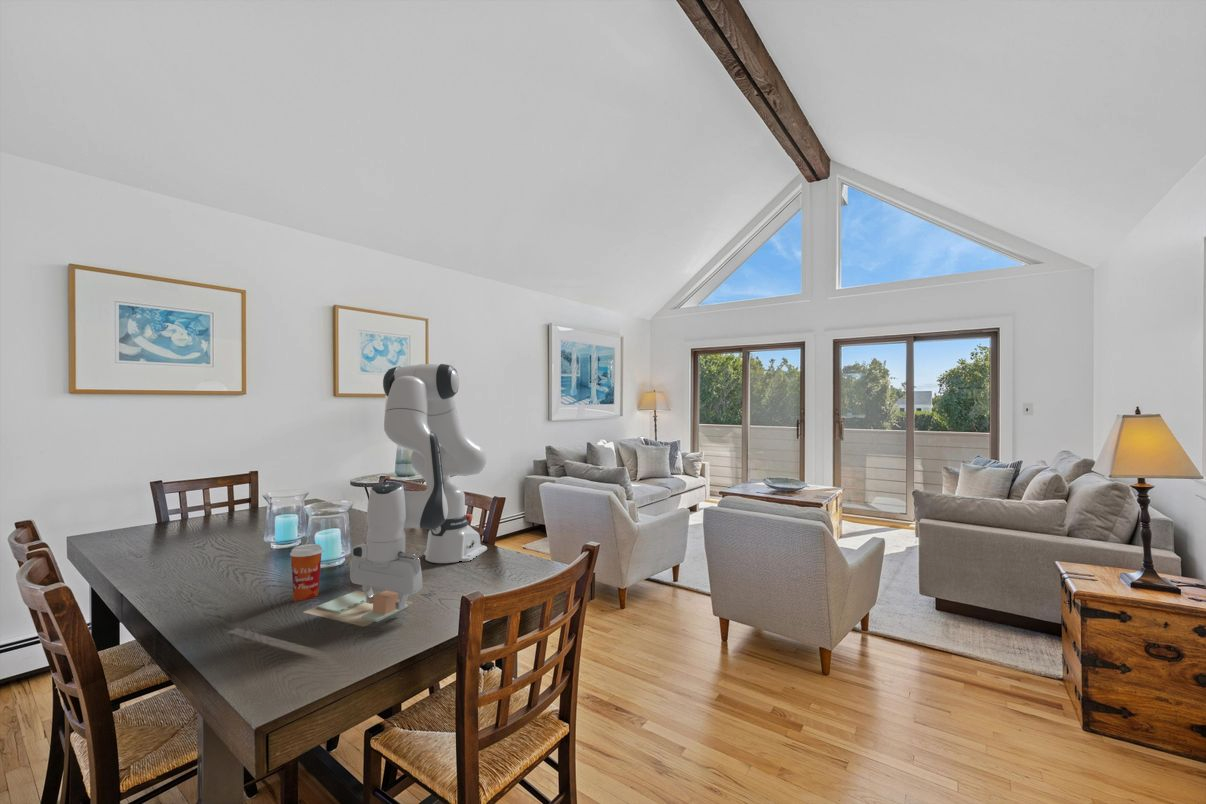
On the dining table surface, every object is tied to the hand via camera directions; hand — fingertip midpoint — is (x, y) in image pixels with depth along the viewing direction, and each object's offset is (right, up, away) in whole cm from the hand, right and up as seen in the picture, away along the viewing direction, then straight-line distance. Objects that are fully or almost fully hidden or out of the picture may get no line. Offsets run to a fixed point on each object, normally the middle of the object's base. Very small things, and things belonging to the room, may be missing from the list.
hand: (385, 605), depth 129 cm
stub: (0, -2, 0) cm, 2 cm away
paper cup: (-25, -3, +11) cm, 28 cm away
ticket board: (-8, -3, +3) cm, 9 cm away
